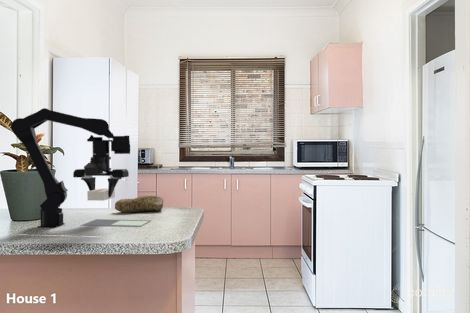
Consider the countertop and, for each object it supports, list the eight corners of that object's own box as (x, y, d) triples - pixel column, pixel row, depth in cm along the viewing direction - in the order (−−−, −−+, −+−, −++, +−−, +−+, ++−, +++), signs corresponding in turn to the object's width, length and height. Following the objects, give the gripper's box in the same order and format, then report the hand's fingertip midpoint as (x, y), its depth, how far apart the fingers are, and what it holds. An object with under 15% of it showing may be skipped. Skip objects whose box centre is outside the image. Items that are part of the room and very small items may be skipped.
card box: (87, 200, 136) (87, 191, 135) (99, 197, 144) (99, 188, 144) (103, 200, 135) (103, 191, 135) (114, 197, 144) (114, 188, 144)
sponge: (161, 211, 175) (116, 203, 171) (164, 195, 174) (119, 186, 170) (160, 221, 163) (112, 213, 159) (164, 204, 161) (115, 196, 157)
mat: (79, 226, 134) (79, 225, 134) (96, 220, 146) (96, 218, 146) (140, 228, 132) (140, 226, 132) (152, 221, 144) (152, 220, 144)
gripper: (64, 154, 132) (64, 199, 133) (116, 154, 130) (116, 200, 130) (81, 154, 143) (81, 195, 144) (129, 154, 141) (129, 196, 142)
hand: (101, 197), depth 140 cm, fingers closed on card box, 6 cm apart
